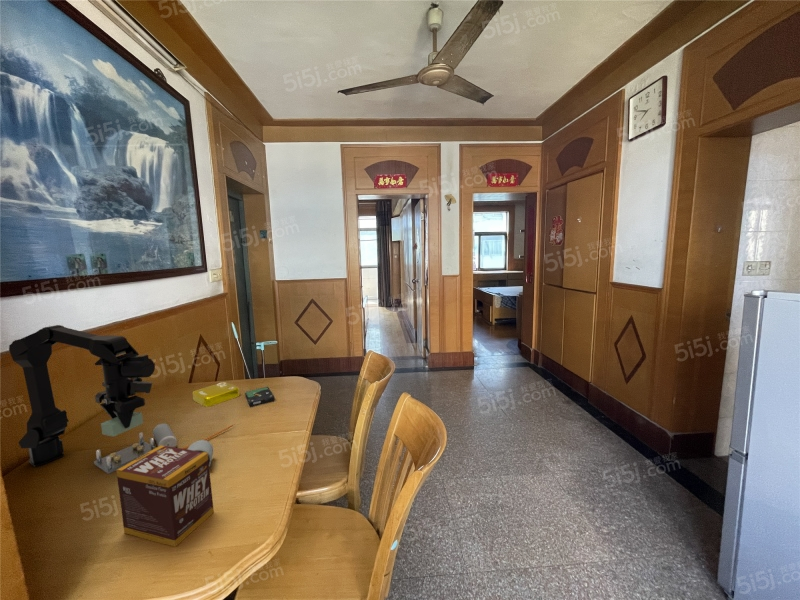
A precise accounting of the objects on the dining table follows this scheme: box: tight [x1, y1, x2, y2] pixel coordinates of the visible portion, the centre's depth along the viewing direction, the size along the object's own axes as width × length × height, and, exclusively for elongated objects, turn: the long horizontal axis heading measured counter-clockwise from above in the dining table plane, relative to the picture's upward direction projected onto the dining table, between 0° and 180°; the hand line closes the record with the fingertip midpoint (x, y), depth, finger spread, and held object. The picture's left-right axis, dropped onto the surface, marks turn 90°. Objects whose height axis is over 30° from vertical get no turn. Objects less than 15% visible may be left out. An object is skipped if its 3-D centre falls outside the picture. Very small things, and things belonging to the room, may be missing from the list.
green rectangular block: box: [100, 411, 144, 437], centre depth 102 cm, size 8×5×4 cm, turn 163°
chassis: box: [93, 432, 158, 475], centre depth 103 cm, size 13×10×4 cm
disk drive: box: [244, 386, 276, 408], centre depth 147 cm, size 10×3×15 cm
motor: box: [152, 422, 236, 449], centre depth 118 cm, size 23×22×5 cm
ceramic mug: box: [188, 439, 214, 467], centre depth 96 cm, size 11×8×8 cm
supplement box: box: [115, 445, 215, 548], centre depth 76 cm, size 10×15×16 cm
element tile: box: [192, 381, 240, 408], centre depth 149 cm, size 15×15×5 cm
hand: (123, 425), depth 102 cm, fingers closed on green rectangular block, 5 cm apart
